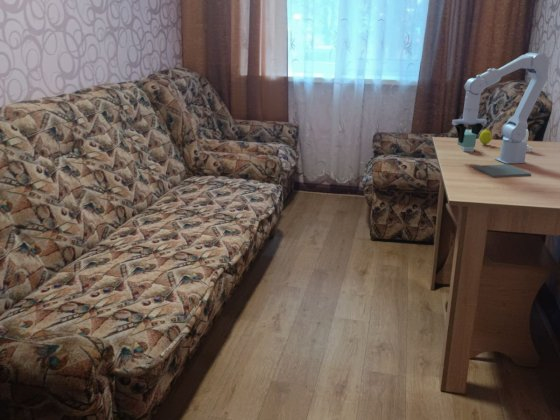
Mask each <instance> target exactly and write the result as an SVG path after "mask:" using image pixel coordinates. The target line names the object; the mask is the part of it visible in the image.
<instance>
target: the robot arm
mask: <svg viewBox="0 0 560 420" xmlns="http://www.w3.org/2000/svg"><path fill="white" fill-rule="evenodd" d="M550 64H551V61H550V59H549V57H548V55H547V54H545V53H535V52H532V51H531V52H526V53H525V54H522V55H520V56H518V57H517V58H515V59H513V60H512V61H509V62H508V63H506V64H505V65H502V66H501V67H499V68H494V67H493V68H488V69H487V70H486V71H485V72H483V73H480V74H477V75H476V76H475V77H470V78H469V79H467V81H466V82H465V84H463V88H464V91H465V97H464V105H463V113H462V118H458V119H456V118H455V119H452V120H451V121H452V122H451V125H453V126H454V128H455V129H456V133H457V141H458V140H459V142H460V143H463V139H464V133H465V130H467V126H466V125H470V127H471V129H470V130H471V133H473V134H476V135H477V136H476V139H477V138H478V135H480V133H481V132H482V129H483V127H484V125H487V123H488V120H487V119H486V118H479V110H480V103H481V95H482V93H483V92H484V90H485V89H487V88H488V87H490V86H492V85H495V84H497V83H500V80H501V79H502V77H504V76H507V75H508V74H509V75H510V74H511V73H513V72H516V71H518V70H520V69H525V70H526V71H527V73H528V74H529V76H530V78H531V79H530V81H529V84H528V85H527V87H526V90H525V91H524V94H523V96H522V97H521V99H520V101H519V104H518V106H517V108H516V110H515V112H514V114H513V115H512V116H511V117H509V118H508V119H507V120H506V123H504V124H503V125H502V127H501V129H500V133H501V135H502V140H501V141H502V143H501V147H500V153H499V154H500V155H499V157H495V158H494V159H495V160H496V161H498V162H501V163H503V164H509V165H511V164H526V156H527V152H526V151H527V145H528V143H527V144H526V142H525V141H523V139H524V138H525V136H526V129H528V127H529V125H528V121H527V120H528V118H529V117H530V114H531V112H532V110H533V109H534V107H535V105H536V102H537V100H538V99H539V96H540V95H541V92H542V91H543V88H544V87H545V85H546V83H547V81H548V77H549V67H550Z"/></svg>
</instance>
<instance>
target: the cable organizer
mask: <svg viewBox="0 0 560 420" xmlns="http://www.w3.org/2000/svg"><path fill="white" fill-rule="evenodd" d="M528 140H529V130H528V128H527V129H526V136H525V138H524V139H523V141H525V142H526V144H527V151H526V153H527V152H531V153H532V152H533V146H530V145H528Z"/></svg>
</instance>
